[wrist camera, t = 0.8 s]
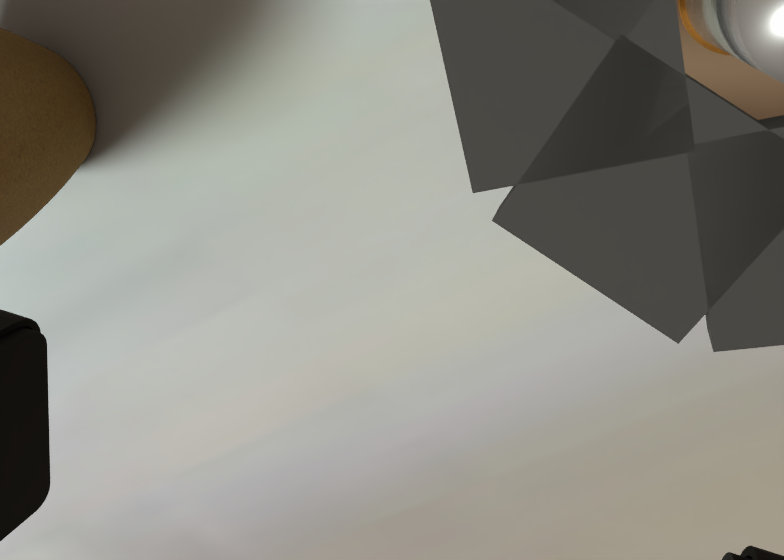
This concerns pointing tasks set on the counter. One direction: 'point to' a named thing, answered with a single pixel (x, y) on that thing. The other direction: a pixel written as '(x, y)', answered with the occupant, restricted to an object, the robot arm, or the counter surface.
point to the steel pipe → (739, 30)
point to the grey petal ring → (622, 160)
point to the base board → (732, 78)
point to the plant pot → (38, 128)
